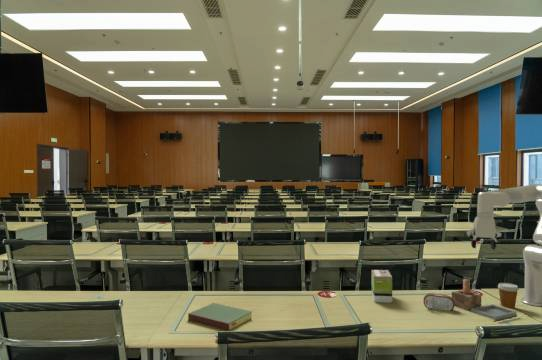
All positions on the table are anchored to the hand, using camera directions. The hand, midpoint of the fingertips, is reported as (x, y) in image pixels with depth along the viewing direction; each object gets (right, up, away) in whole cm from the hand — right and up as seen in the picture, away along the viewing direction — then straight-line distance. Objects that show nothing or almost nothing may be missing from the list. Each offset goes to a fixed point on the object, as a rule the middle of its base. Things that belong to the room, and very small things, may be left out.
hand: (483, 248), depth 214 cm
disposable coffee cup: (+14, -32, +3) cm, 35 cm away
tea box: (-49, -32, +17) cm, 60 cm away
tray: (0, -32, -9) cm, 33 cm away
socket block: (-8, -32, +1) cm, 33 cm away
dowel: (-8, -31, +1) cm, 32 cm away
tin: (-24, -32, -2) cm, 40 cm away
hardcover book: (-135, -32, -16) cm, 140 cm away
